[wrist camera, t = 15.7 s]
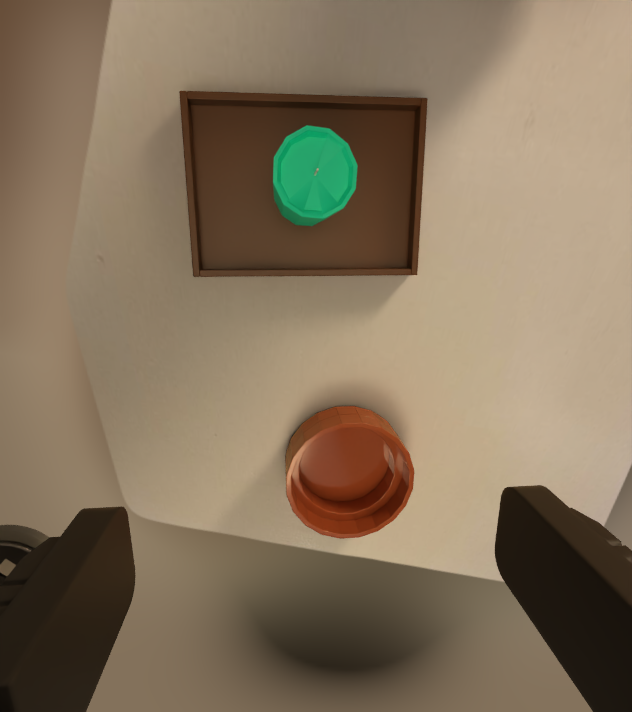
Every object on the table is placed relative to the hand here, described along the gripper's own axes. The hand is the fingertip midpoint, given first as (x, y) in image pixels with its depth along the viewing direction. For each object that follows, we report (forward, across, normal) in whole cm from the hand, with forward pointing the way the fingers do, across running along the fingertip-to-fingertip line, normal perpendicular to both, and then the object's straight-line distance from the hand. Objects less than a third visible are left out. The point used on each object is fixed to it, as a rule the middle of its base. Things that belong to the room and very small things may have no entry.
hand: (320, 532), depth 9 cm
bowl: (+34, -6, +17) cm, 39 cm away
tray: (+34, -2, -11) cm, 36 cm away
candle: (+34, -2, -11) cm, 35 cm away
